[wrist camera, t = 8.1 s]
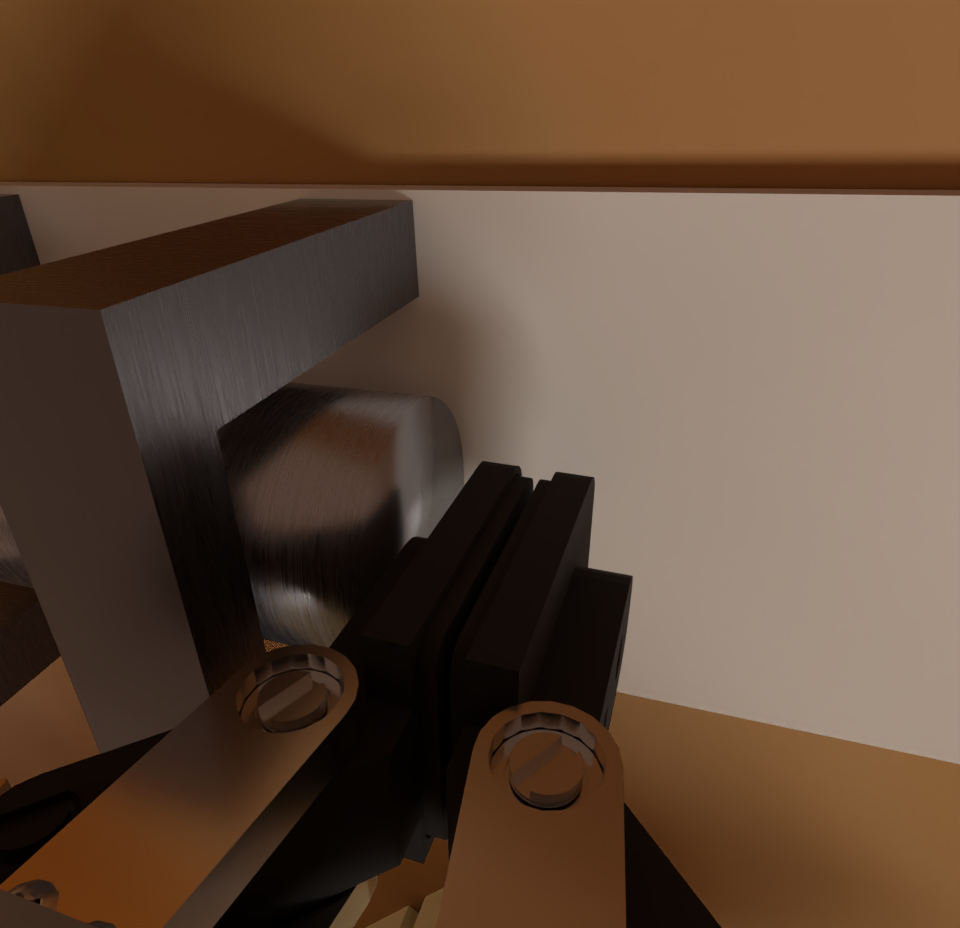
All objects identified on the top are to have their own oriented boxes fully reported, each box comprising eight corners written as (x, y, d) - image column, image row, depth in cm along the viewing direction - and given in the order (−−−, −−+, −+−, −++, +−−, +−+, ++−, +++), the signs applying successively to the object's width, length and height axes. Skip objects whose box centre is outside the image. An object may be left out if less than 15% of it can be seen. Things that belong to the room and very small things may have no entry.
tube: (459, 356, 12) (339, 473, 8) (468, 564, 14) (374, 731, 10) (8, 319, 15) (-230, 394, 11) (69, 496, 17) (-115, 609, 13)
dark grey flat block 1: (412, 199, 11) (100, 309, 6) (443, 649, 15) (283, 957, 10) (298, 198, 11) (-84, 296, 6) (359, 632, 16) (165, 914, 10)
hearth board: (1191, 191, 9) (1220, 199, 8) (962, 740, 13) (971, 766, 12) (-34, 181, 14) (-63, 184, 14) (97, 565, 19) (79, 579, 18)
